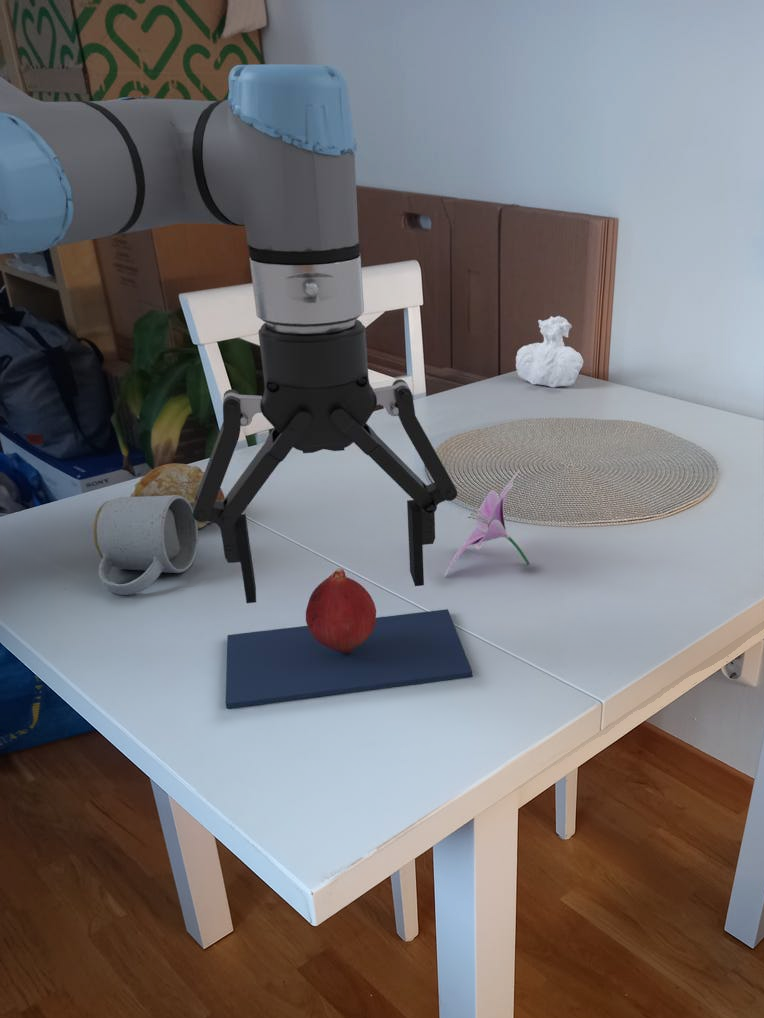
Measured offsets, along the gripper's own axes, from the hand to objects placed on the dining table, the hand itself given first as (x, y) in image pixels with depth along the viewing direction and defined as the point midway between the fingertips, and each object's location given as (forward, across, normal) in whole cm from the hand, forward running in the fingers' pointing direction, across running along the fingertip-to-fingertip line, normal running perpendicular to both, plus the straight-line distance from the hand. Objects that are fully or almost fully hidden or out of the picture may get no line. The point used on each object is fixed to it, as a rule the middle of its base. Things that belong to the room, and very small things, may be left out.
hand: (335, 587), depth 76 cm
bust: (+7, +41, +78) cm, 88 cm away
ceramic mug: (+7, -18, +21) cm, 28 cm away
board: (+7, 0, 0) cm, 7 cm away
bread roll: (+8, -16, +35) cm, 39 cm away
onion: (+7, 0, 0) cm, 7 cm away
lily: (+7, +16, +15) cm, 23 cm away
